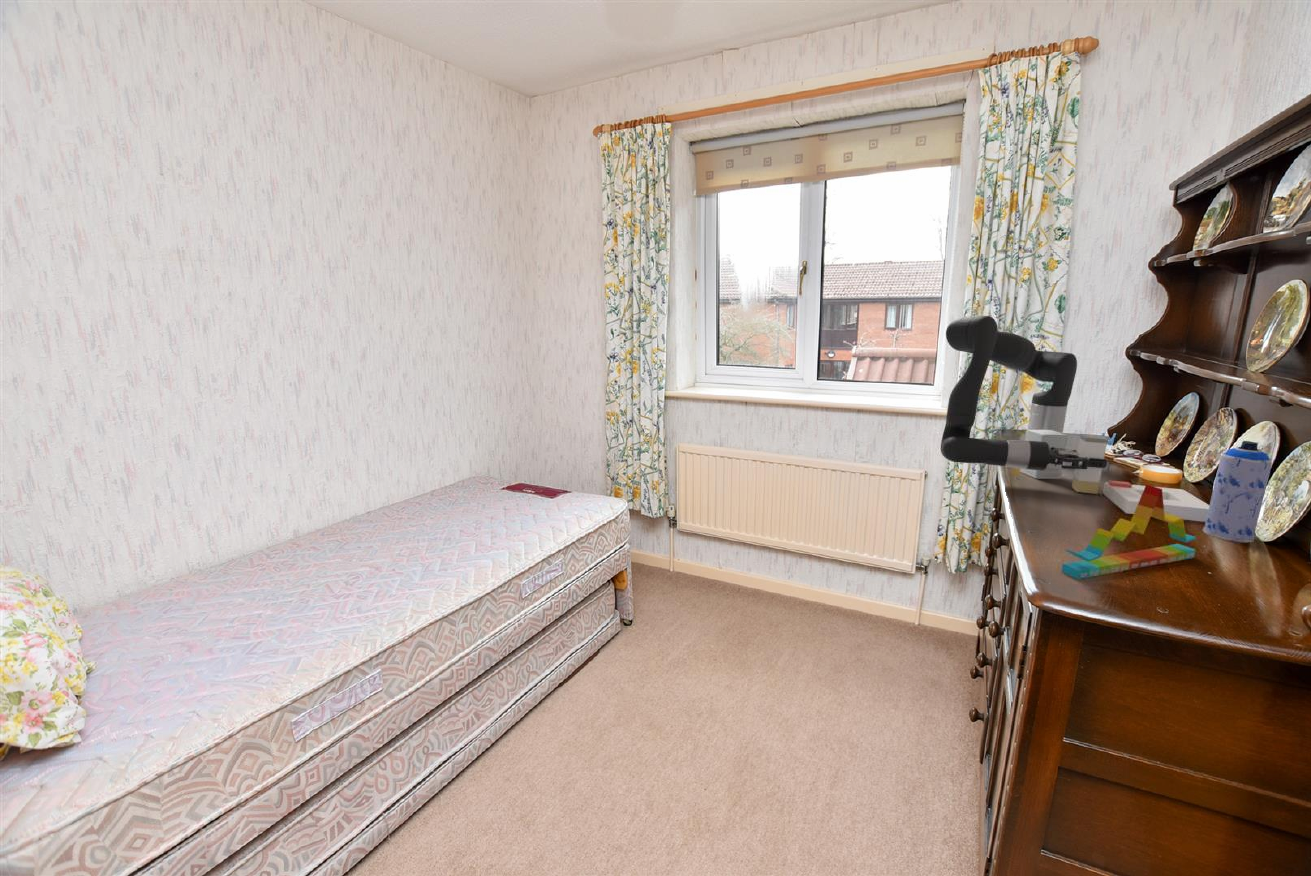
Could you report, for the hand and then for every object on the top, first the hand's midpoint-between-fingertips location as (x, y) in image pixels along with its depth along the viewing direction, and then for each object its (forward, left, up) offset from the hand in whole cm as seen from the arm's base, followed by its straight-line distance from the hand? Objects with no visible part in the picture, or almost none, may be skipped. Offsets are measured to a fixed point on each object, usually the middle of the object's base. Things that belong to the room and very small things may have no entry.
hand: (1102, 461), depth 148 cm
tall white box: (0, -3, -8) cm, 8 cm away
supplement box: (-13, -10, -9) cm, 18 cm away
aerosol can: (+24, +16, -8) cm, 30 cm away
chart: (+50, -9, -9) cm, 51 cm away
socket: (+8, +9, -8) cm, 15 cm away
